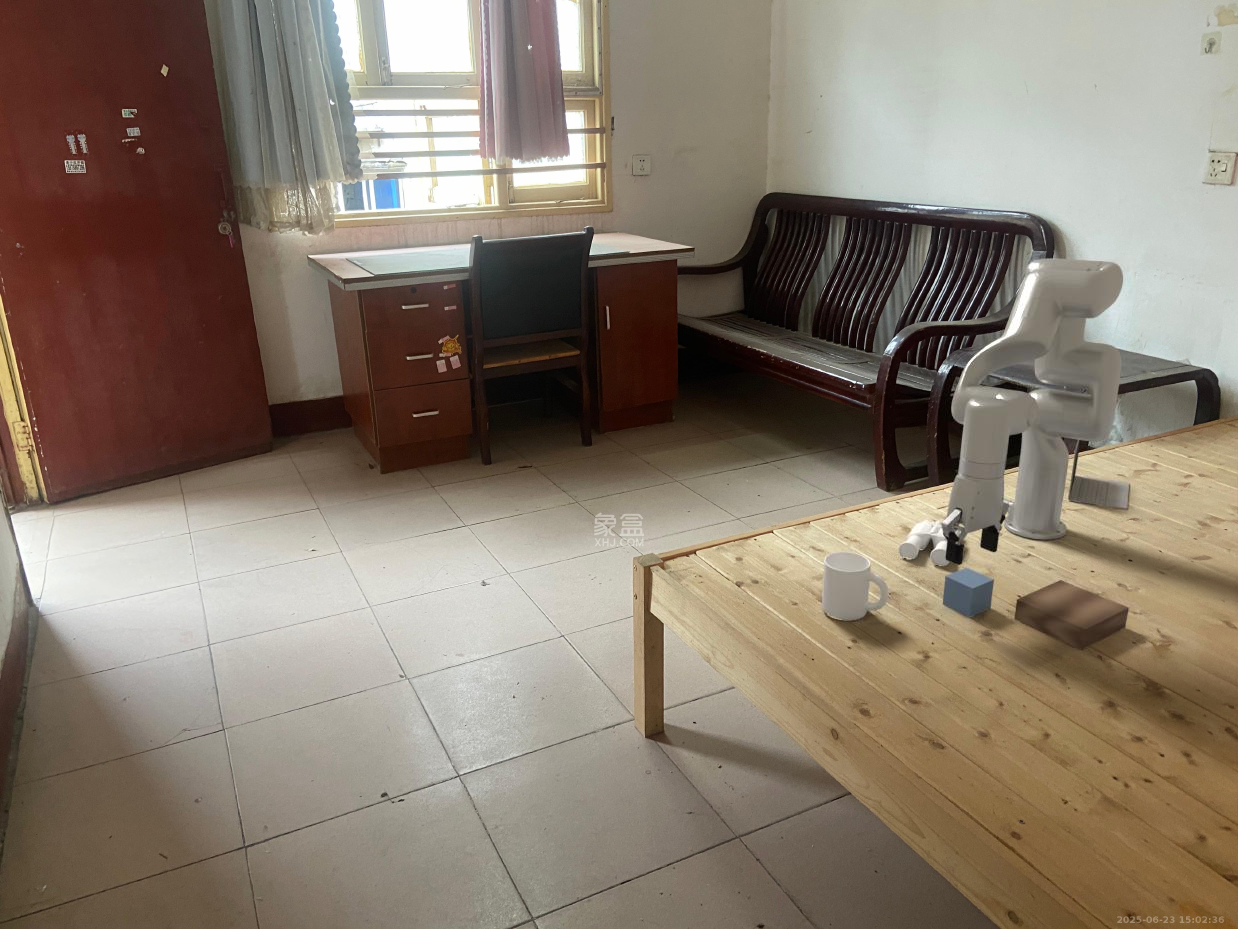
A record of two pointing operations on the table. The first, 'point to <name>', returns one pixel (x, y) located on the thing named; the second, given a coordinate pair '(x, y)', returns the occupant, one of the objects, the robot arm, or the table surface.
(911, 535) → the binoculars
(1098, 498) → the laptop
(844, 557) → the mug
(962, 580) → the slate cube
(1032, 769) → the table surface
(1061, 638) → the walnut base
